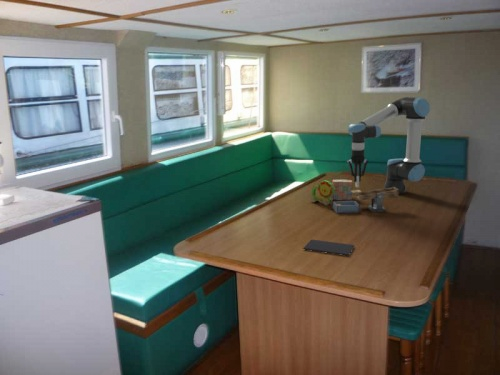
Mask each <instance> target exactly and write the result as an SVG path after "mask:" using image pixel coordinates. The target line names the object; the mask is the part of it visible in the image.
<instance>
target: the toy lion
mask: <svg viewBox="0 0 500 375" xmlns="http://www.w3.org/2000/svg"><path fill="white" fill-rule="evenodd" d="M316 190H318V194H316ZM319 192H320V194H319ZM333 194H334V186H333V184H332V182H331V181H329V180H326V179H325V180H321V181H320V182H319V183H318V185H315V186H313V188H312V190H311V197H310V201H311V203H315V202H318V201H321V202H322V203H323V205H324V206H328V205H331V204H333V200H332V199H331V198H330V197H331V196H332V195H333Z"/></svg>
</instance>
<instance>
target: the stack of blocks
mask: <svg viewBox="0 0 500 375" xmlns="http://www.w3.org/2000/svg"><path fill="white" fill-rule="evenodd" d="M331 183H332V184H333V186H334V194H333V195H332V196H331V197H330V198H331V199H332V201H333V200H334V201H339V200H340V201H353V200H352V199H353V194H352V192H351V191H353V180H352V179H332V182H331ZM319 194H320V192H319V191H318V195H319Z"/></svg>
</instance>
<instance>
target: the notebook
mask: <svg viewBox="0 0 500 375" xmlns="http://www.w3.org/2000/svg"><path fill="white" fill-rule="evenodd" d="M354 248H355V244H348V243H342V242H341V243H340V242H335V241H334V242H333V241H326V240H318V239H310V240H309V242H307V243H306V244H305V245H304V247H303V248H302V249H305V250H304V251H307V250H312V251H311V252H314V251H320V252H319V253H321V252H327V253H326V254H328V253H335V254H342V255H349V254H351V253H352V251H353V250H354ZM352 249H353V250H352ZM350 252H351V253H350ZM335 254H334V255H335ZM342 255H341V256H342ZM349 256H350V255H349Z"/></svg>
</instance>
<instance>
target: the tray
mask: <svg viewBox="0 0 500 375" xmlns="http://www.w3.org/2000/svg"><path fill="white" fill-rule="evenodd" d="M337 204H341V205H339V206H338V205H337ZM360 207H361V206H360V204H359V203H358V202H357V201H356V200H340V201H339V200H334V201H332V209H333V211H334V212H335V214H352V213H353V214H357V213H360V209H361V208H360Z"/></svg>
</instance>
